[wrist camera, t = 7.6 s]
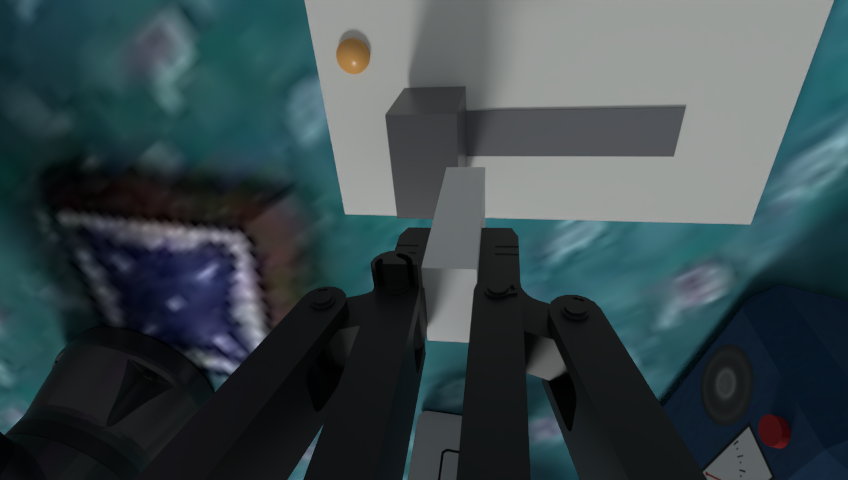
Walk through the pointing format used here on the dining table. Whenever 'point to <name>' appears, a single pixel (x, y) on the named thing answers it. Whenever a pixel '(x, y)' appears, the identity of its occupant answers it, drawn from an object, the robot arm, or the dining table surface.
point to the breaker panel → (575, 99)
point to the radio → (770, 392)
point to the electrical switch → (435, 447)
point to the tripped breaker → (425, 145)
